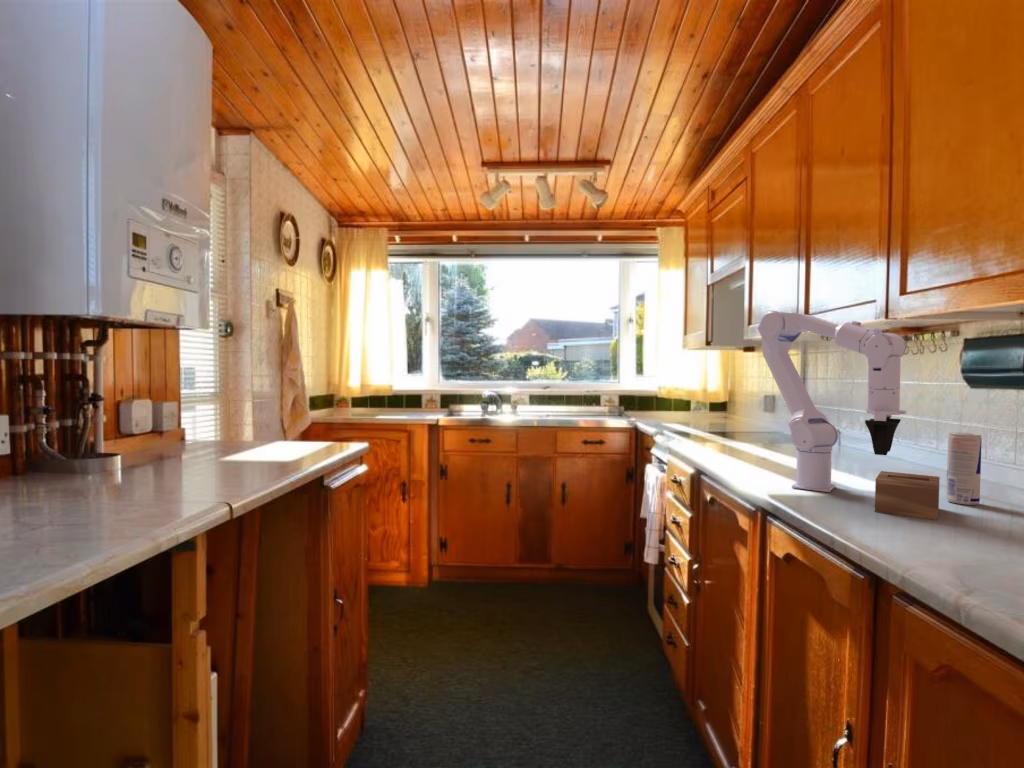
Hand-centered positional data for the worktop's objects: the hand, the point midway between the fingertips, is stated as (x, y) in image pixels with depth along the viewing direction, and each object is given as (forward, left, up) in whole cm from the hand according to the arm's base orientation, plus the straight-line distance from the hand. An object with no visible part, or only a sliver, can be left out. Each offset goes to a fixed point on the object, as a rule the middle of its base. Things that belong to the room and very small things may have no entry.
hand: (882, 452), depth 122 cm
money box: (+6, +5, -10) cm, 13 cm away
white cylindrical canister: (-10, +14, -11) cm, 20 cm away
